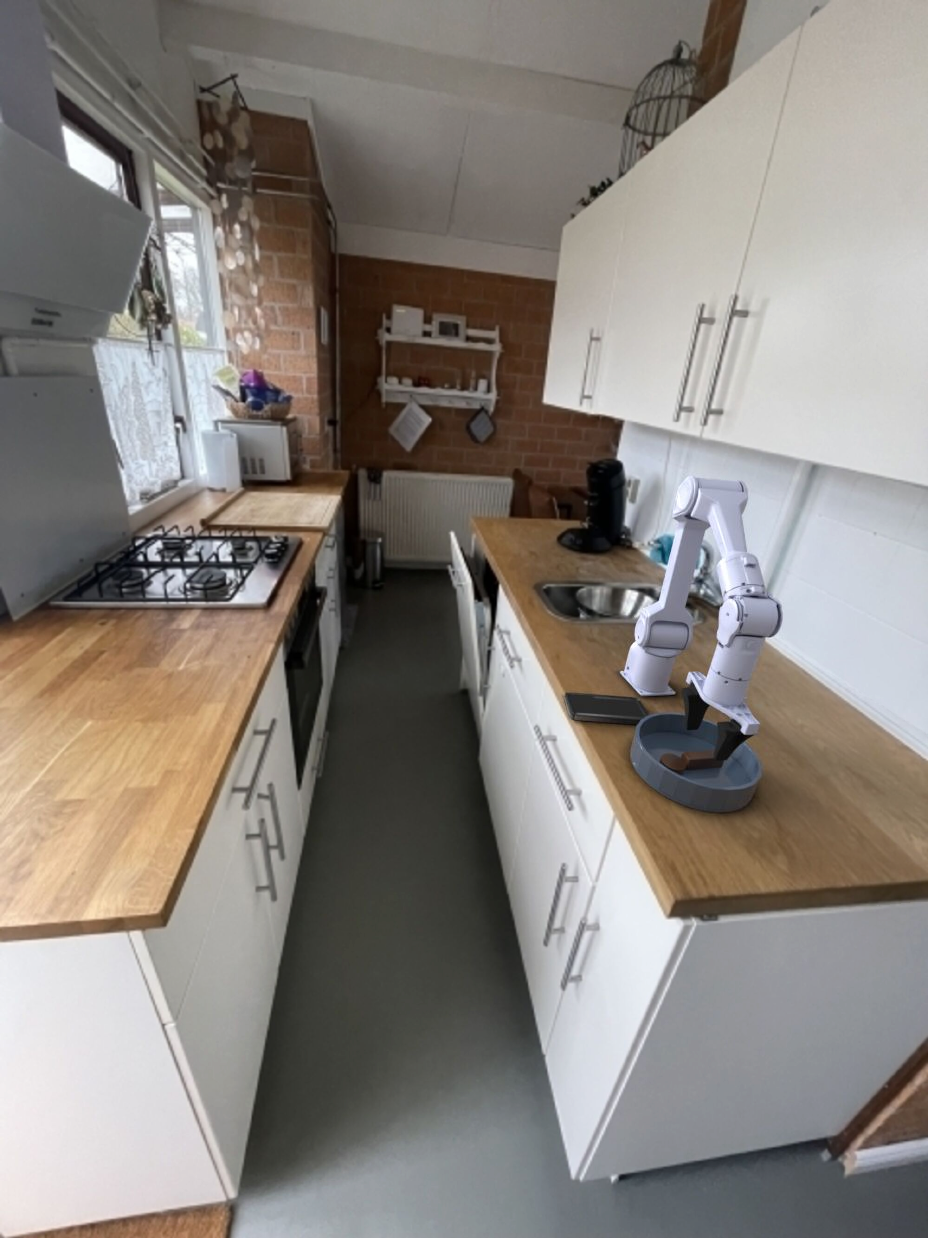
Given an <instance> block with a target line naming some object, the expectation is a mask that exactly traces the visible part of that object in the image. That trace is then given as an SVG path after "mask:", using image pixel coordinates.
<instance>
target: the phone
mask: <svg viewBox="0 0 928 1238" xmlns="http://www.w3.org/2000/svg"><path fill="white" fill-rule="evenodd" d="M563 700H564V704H565V707H566V710H567V714H568V716H569V718H570V719H572V720H573V721H585V722H598V723H610V724H621V725H622V724H623V725H632V726H633V725H635V726H637V725H638V723H639V722H640V721H641V720H642V719H643V718H645V717H647V716H649V715H650V714H648V712H647V710H646V708H645V706H644V704H643V702H642V700H641V699H640V698H637V697H634V696H624V695H611V694H599V693H598V694H597V693H588V692H587V693H585V692H573V691H567V692H565V694H564V698H563Z"/></svg>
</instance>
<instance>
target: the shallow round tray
mask: <svg viewBox="0 0 928 1238" xmlns="http://www.w3.org/2000/svg"><path fill="white" fill-rule="evenodd" d="M648 715H649V716H647V717H645V718H643V719H642V720H641V721H640V722H639V723H638V725H635V731H634V734H633V737H632V740H631V746H630V751H629V758H630V761H631V764H632V766H633V768H634V770H635V772H636V773H637V775H638V776H639V777H640V778H641V780H643V781H644V782H645V784H647V785H648V786H650V788H651V789H652V790H654V791H655V792H657V793H658V794H660V795H662V796H664V797H665V798H667V799H669V800H671V801H673V802H675V803H677V804H679V805H681V806H684V807H688V808H691V809H694V810H697V811H702V812H709V813H721V814H722V813H732V812H736V811H739V810H741V809H742V808H745V807H746V806H747V805H749V803H750V802H751V800H752V799H753V797H754V796H755V795H754V794H755V792H756V791H757V788H758V786H759V784H760V781H761V778H762V776H763V775H762V774H763V772H764V771H763V770H764V769H763V766H762V760H761V759H760V757H759V756H758V754H757V752H756V751H755V750H754V749H753V748H752V747H751V745H749V744H748V742H746V741H744V742H743V743H742V744H741V745H739V746H738V747H737V748H736V750H735V751H734V752H733V753H732V754H731V755H730V757H729V758H728V759H727V760H724V763H723V766H722V767H719V768H707V769H695V770H685V772H684V774H682V775H678V774H677V773H675V772H673V771H671V770H669V769H667V768H666V767H665V766H663V765H662V764H661V763H659V762H660V759H661V756H662V755H664V754H674V755H677V756H679V757H680V758H681V756H682V753H683V752H690V751H703V750H715V747H716V744H717V739H718V727H717V722H713V721H712V720H708V719H706V718H703V720H702V723H701V725H700V727H699V728H698V730H686V729H685V713H684V712H672V711H669V712H668V711H666V712H657V713H652V714H648Z"/></svg>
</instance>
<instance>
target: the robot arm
mask: <svg viewBox="0 0 928 1238" xmlns="http://www.w3.org/2000/svg"><path fill="white" fill-rule="evenodd" d="M748 501H749V491H748V488H747V485H746V483H745V481H743V480H730V479H729V480H728V479H716V478H705V477H696V476H694V475H689V476H687V477H686V478H685V479H684V480H683V481H682V483H680V485H679V486H678V488H677V491H676V494H675V500H674V504H673V508H672V515H671V519H673V520H675V521H677V524H676V528H675V533H674V537H673V541H672V546H671V551H670V554H669V558H668V562H667V566H666V570H665V573H664V578H663V583H662V587H661V591H660V594H659V599H658V600H657V601H656V602H653V603H652V604H649V605H646V606H645V607H643V608H642V610H641V612H640V616H639V618H638V620H637V621H636V624H635V627H634V639H635V640H634V641H633V643H632V644H631V645H630V648H629V650H628V654H627V657H626V663H625V665H624V670H620V671H619V673H620V675H621V676H622V677H623V678H624V679H625V680H626V682H628V684H630V686H631V687H632V688H633V689H634V690H635V691H636V692H637V694H638V695H639V696H641V697H655V696H673V695H676V691H675V690H674V689H673V688H671V686H670V685H669V682H670V679H671V676H672V672H673V670H674V665H675V663H676V658H677V656H681V654H682V651H683V652H684V651H686V650H687V649H688V648H689V647H690V646H691V644H692V641H693V635H694V633H693V632H694V631H693V628H694V622H695V619H694V617H693V615H692V614H691V613H690V612H689V611H688V610H687V608H686V605H687V601H688V597H689V594H690V590H691V587H692V583H693V578H694V574H695V571H696V568H697V564H698V560H699V556H700V554H701V553H700V552H701V549H702V545H703V542H704V537H705V534H706V531H707V530H708V529H710V528H711V530H712V533H713V536H714V540H715V543H716V545H717V549H718V551H719V554H720V556H721V559H720V560H719V561H718V563H717V565H716V567H715V568H716V573H717V578H718V582H719V587H720V592H721V596H722V600H723V604H722V606H720V607H719V610H718V628H717V632H716V639H717V640H718V642H717V644H716V647H715V651H714V653H713V657H712V659H711V662H710V665H709V669H708V672H707V675H704V674H703V673H702V672H700V671H688V674H687V677H686V680H685V682H686V683H687V684H688V687H682V688H681V690H680V693H681V697H682V700H683V704H684V714H685V729H686V730H698V728H699V727H700V725H701V723H702V720H703V719H705V716H706V714H707V713H706V712H707V711H708V709H709V707H710V706H711V707H713V708H714V709H715V710H717V711H720V712H721V713H723V714H724V715H726V716H727V717H728V718H729V719H730V721H729V720H727V721H717V722H716V724H717V727H718V739H717V744H716V747H715V751H714V759H715V760H716V761H722V760H727V759H728V758H729V757H730V755H731V754H732V753H733V752H734V751H735V750H736V748H737V747H738V746H739V745H741V744H742V743H743V742H744V741H745V742H746V741H747V740H748V739H750V738H752V737H753V736H755V735H757V734H758V731H759V729H760V726H761V723H760V722H759V721H758V720H757V719H756V718H755V717H754V715H753V713H752V712H751V710H750V709H749V707H748V705H747V703H746V702H747V700H748V697H747V696H746V692H747V690H748V687H749V685H750V682H751V679H752V676H753V674H754V671H755V669H756V666H757V663H758V661H759V658H760V655H761V652H762V651H763V648H764V645H765V642H766V638H767V639H768V638H773V637H775V636H777V634H778V633H779V632H780V629H781V627H782V625H783V618H784V613H783V606H782V603H781V602H780V600H778V598H776V597H774V595H773V594H772V592H770V591H767V588H766V584H765V581H764V576H763V574H762V571H761V566H760V562H759V559H758V557H757V556H756V555H754V554H752V553H749V552H748V547H747V541H746V535H745V527H744V520H743V514H744V512H745V510H746V507H747V505H748Z"/></svg>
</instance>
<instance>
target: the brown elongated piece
mask: <svg viewBox="0 0 928 1238" xmlns="http://www.w3.org/2000/svg"><path fill="white" fill-rule="evenodd" d="M714 751H715V750H703V751H690V752H683V753H682V756H681V758H680V757H679V756H677V755H674V754H664V755H662V756H661V759H660V762H659V763H661V764H662V765H663V766H665V767H666V768H667V769H669V770H671V771H673V772H675V773H677V774H678V775H682V774H684V772H685V770H695V769H707V768H719V767H722V766H723V763H724V760H722V761H716V760H715V759H714Z"/></svg>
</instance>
